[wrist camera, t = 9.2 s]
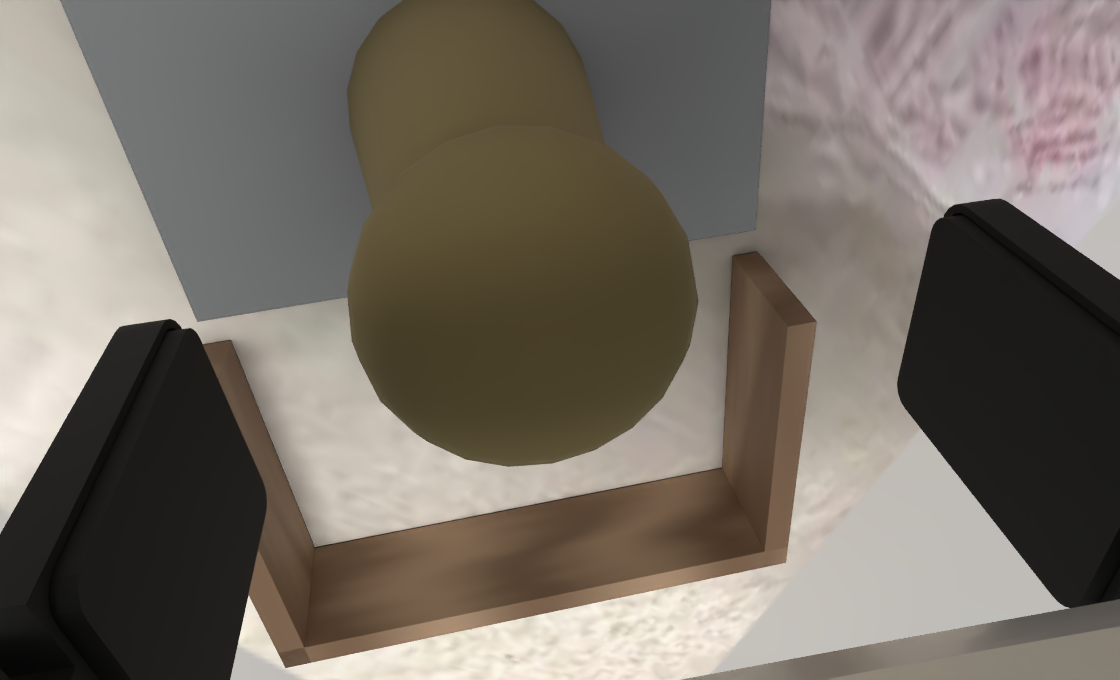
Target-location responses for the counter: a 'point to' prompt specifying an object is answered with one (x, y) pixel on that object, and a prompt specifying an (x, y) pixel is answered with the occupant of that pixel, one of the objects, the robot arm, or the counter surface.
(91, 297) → the counter surface
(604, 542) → the wooden u-shaped frame
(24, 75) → the counter surface
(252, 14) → the charcoal mat
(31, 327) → the counter surface
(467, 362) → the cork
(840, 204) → the counter surface
